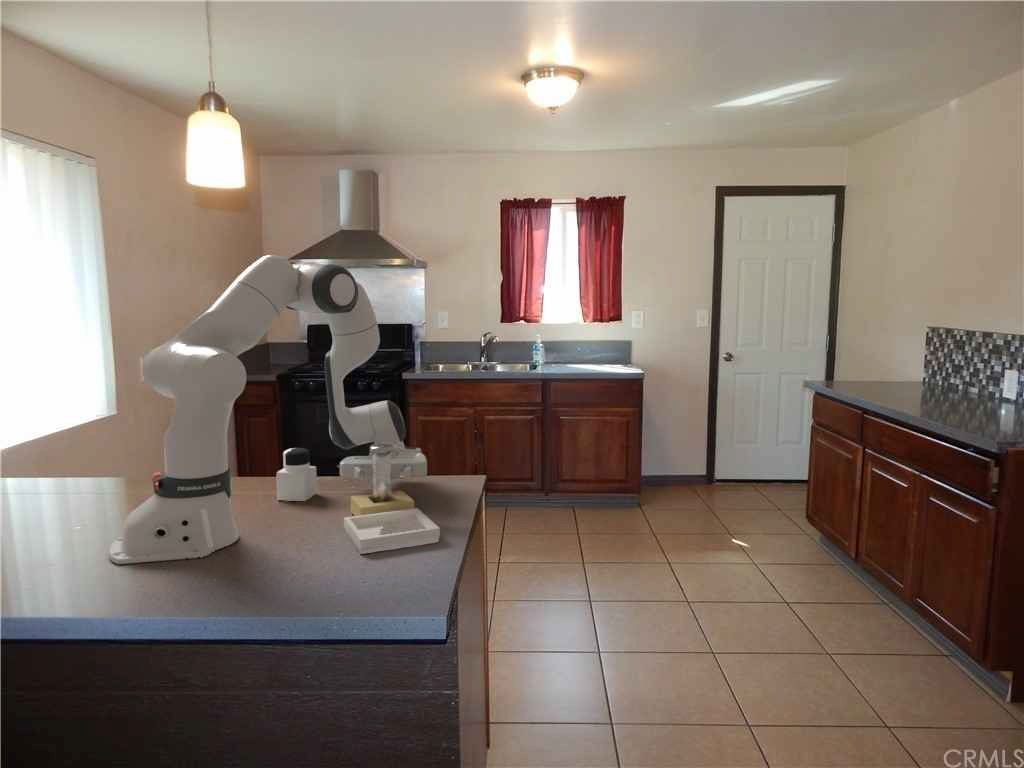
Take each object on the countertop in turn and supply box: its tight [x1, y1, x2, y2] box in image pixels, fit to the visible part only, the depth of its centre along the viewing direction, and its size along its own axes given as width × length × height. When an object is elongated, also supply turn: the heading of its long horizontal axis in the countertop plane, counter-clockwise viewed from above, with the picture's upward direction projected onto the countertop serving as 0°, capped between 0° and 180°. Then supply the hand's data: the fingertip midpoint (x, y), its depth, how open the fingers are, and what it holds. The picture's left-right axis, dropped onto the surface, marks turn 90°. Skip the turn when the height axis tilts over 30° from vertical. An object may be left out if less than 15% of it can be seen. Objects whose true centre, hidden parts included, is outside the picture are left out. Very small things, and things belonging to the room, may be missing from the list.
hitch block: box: [350, 489, 415, 516], centre depth 146 cm, size 12×9×4 cm
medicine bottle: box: [276, 447, 318, 502], centre depth 158 cm, size 7×7×12 cm
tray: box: [343, 507, 441, 551], centre depth 134 cm, size 16×14×3 cm
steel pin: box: [369, 443, 394, 503], centre depth 146 cm, size 5×5×16 cm
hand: (381, 475), depth 147 cm, fingers open, 8 cm apart
